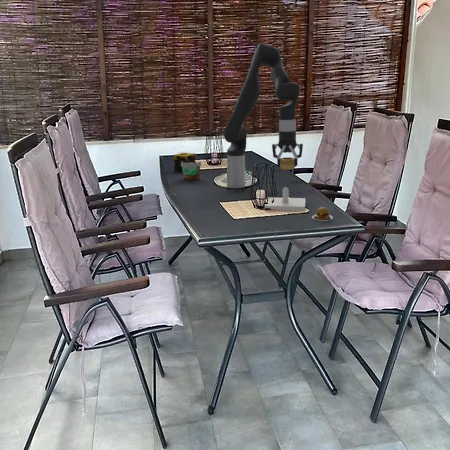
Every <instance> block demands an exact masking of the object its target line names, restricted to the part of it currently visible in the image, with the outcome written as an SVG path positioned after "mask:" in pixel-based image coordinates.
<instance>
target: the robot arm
mask: <svg viewBox="0 0 450 450" xmlns="http://www.w3.org/2000/svg"><path fill="white" fill-rule="evenodd" d="M253 53H254V54H253V57H252V59H251V63H250V65H249V66H250V67H249V70H248V73H247V75H246V78H245V80H244V83H243V85H242V88H241V90H240V92H239V96H238V98H237V101H236V103H235V105H234V108H233V111H232V114H231V116H230V118H229V120H228V122H227V124H226V126H225V128H224V131H223V136H224V140H225V141H226V142H227V143H230V145H229V147H228V148H227V150H226V156H227V157H226V159H227V161H226V162H227V164H226V165H227V169H226V188H229V189H242V188H243V189H244V188H245V187H246V157H245V156H246V155H245V154H246V153H245V152H246V150H247V149H246V148H247V130H246V127H245V125H244V121H245V119H246V118H247V117H248V115H250V114H251V112H252V111H253V109H254V108H255V106H256V105H257V102H258V100H259V97H260V95H261V86H260V82H259V70H260V67H261V66H264V67H269V68H271V72H270V79H271V81H272V83H273V85H274V89H275V90H274V92H275V93H274V95H275V97H276V99H278V101H280V100H281V101H285V100H286V101H288V103H286V104H284V105H281V106H280V107H279V117H278V119H279V121H278V143H272V145H271V150H272V155H273V156H272V157H273V158H274V159H276V160H277V162H276V163H277V167H278V168H280V158H282V155H283V154H284V153H285V154H286V153H289V154H291V153H292V155H293V158H295V160H294V167H295V168H296V167H297V166H298V159H299V158H302V155H303V147H304V144H303V143H301V142H300V143H298V142H297V124H296V111H297V110H296V109H297V106H298V105H297V104H298V101H299V96H300V94H301V93H300V91H301V88H300V86H299V84H298V83H296V82H291V79H290V77H289V75H288V73H287V72H286V70H285V68H284V65H283V60H282V57H281V53H280V51H279V49H278V48H277V47H274V46H271V45H268V44H264V43H259V44H258V45H257V47H256V48H255V50H254V52H253ZM296 147H297V148H298V149H299V152H298V154H297V152H296V150H295V149H296ZM277 148H279V149H280V151H279V153H278V154H277V151H276V150H277Z"/></svg>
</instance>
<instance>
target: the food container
mask: <svg viewBox="0 0 450 450" xmlns="http://www.w3.org/2000/svg"><path fill="white" fill-rule="evenodd" d="M181 166H182V169H183V171H182V174H183V179H184V180H185V181H189V182H190V181H198V180H200V177H201V166H202V163H201V162H200V161H199V162H196V163H192V162H190V163H183V161H182V163H181Z"/></svg>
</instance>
